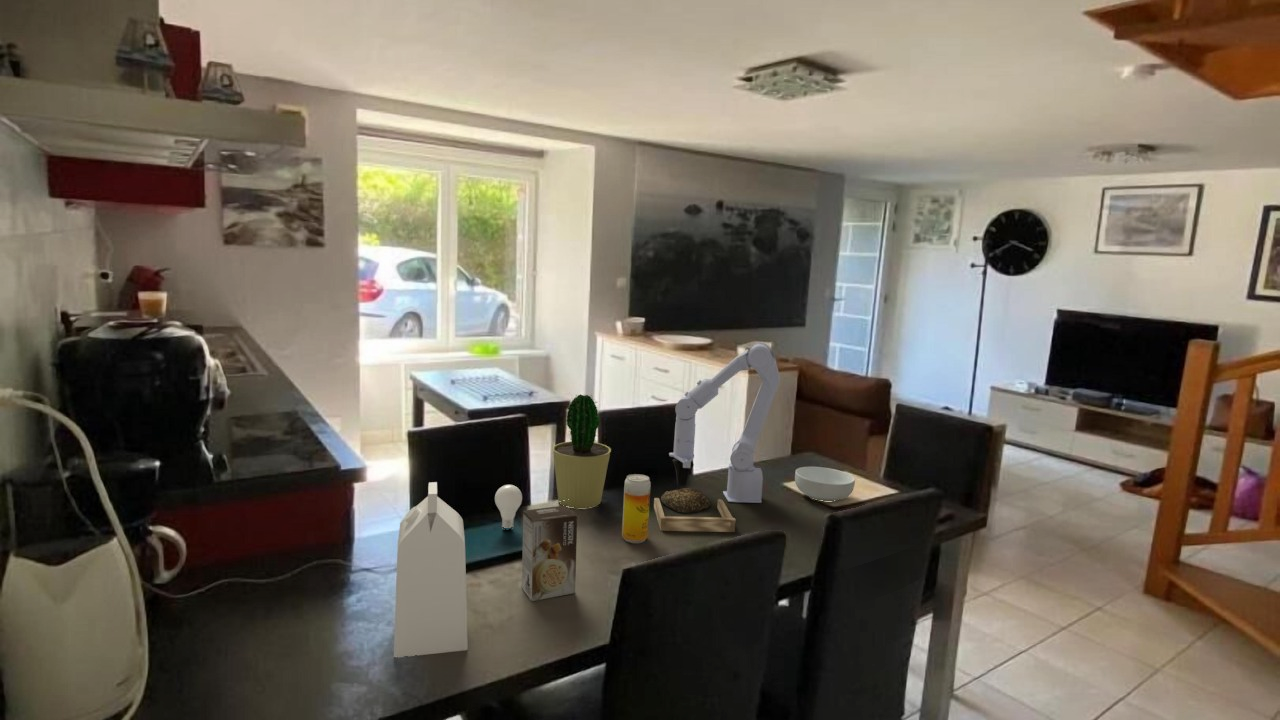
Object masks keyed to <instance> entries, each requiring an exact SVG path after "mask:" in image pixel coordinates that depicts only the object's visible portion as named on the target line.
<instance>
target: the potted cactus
mask: <svg viewBox="0 0 1280 720" xmlns="http://www.w3.org/2000/svg"><path fill="white" fill-rule="evenodd" d="M571 399H572V400H570V401H569V404H568V403H567V410H565V414H564V415H565V417H563V419H564V423H565V428H566V429H567V430H570V431H569V433H570V434H569V436H570V437H569V440H570V441H564V442H560V443H557V444H555V445H553V447H552V452H553V453H552V454H553V463H554V471H555V482H556V489H557V500H558V504H559V503H561V505H560V506H562V505H565V506H569V507H574V508H589V507H593V506H597V505H598V504H600V505H601V501H602V497H603V492H604V491H603V490H604V486H605V481H606V476H607V470H608V465H609V462H610V456H611V452H612V448H611V447H610V446H607V444H603V443H600V442H597V440H596V437H599V435H597V434H598V433H599V432H598V428H601V427H602V426H601V425H602V424H600V423H601V420H602V418H601V417H599V414H602V413H603V412H598V411H599V406H597V405H596V404H597V403H598V401H595V400H594V398H593V394H591V395H588V394H583V395H582V394H575V396H574V397H573V398H572V397H571ZM568 499H569V500H568ZM563 500H565V501H563ZM559 501H561V502H559ZM597 507H598V506H597Z"/></svg>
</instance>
